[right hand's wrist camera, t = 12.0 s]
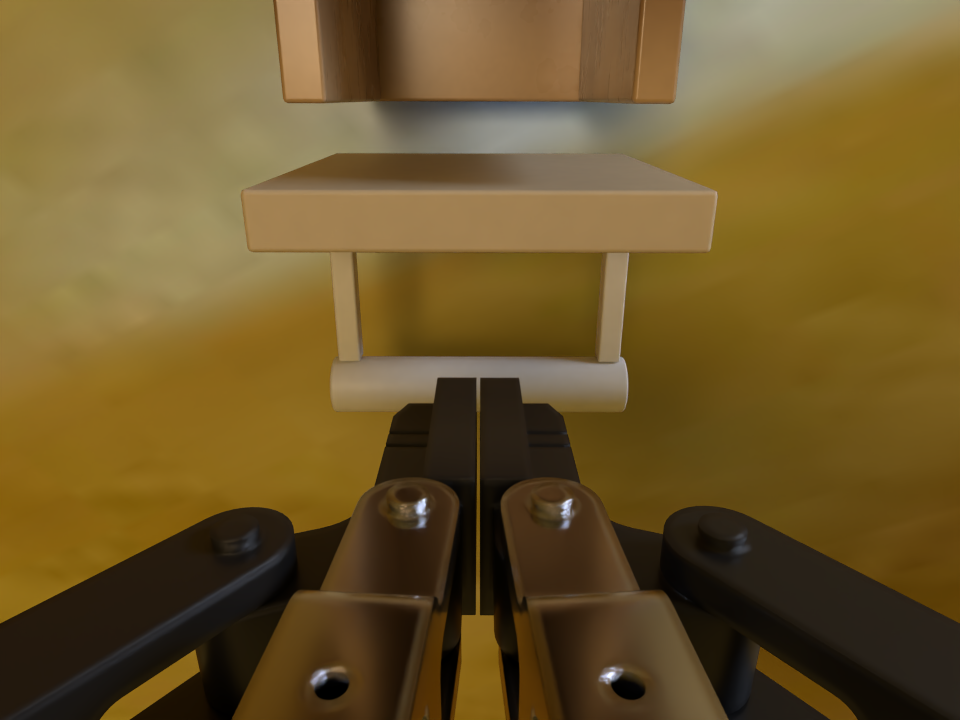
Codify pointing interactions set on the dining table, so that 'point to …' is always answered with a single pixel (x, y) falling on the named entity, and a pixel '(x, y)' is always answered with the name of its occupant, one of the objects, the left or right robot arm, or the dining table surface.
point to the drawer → (479, 170)
